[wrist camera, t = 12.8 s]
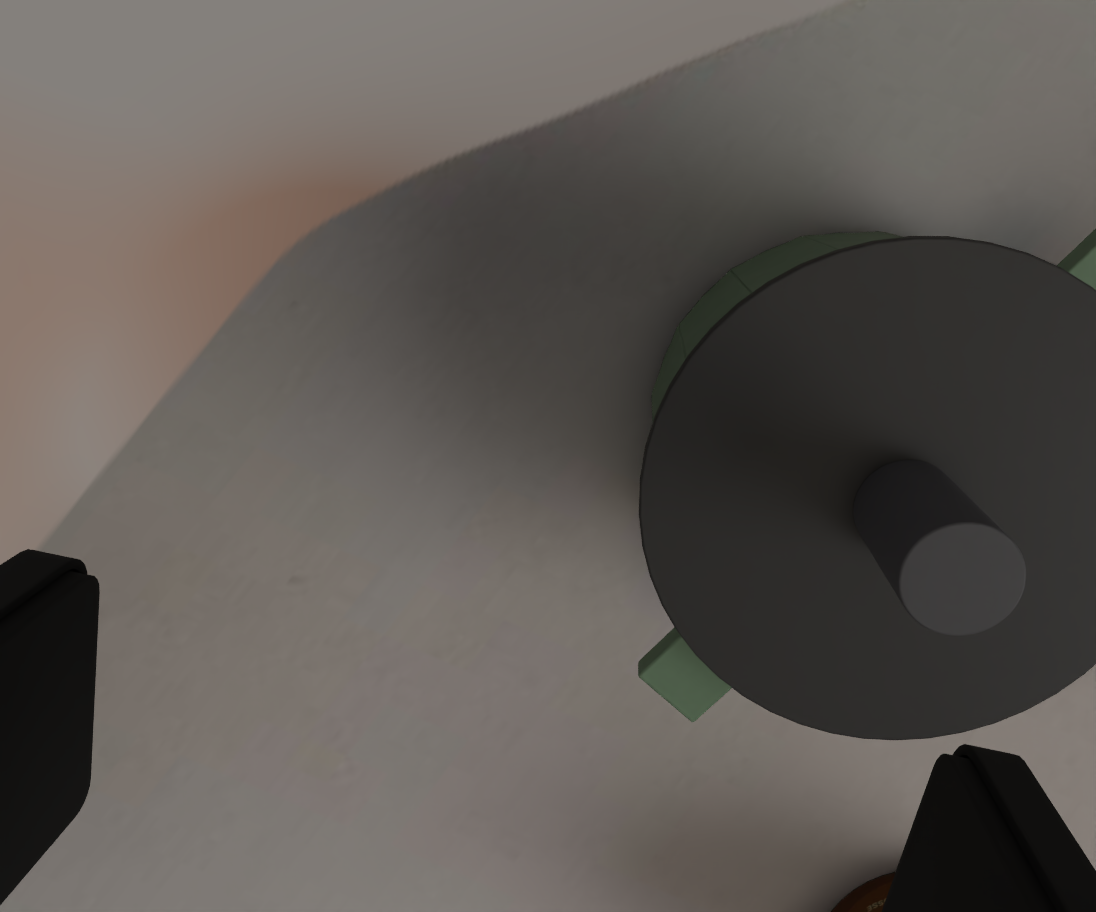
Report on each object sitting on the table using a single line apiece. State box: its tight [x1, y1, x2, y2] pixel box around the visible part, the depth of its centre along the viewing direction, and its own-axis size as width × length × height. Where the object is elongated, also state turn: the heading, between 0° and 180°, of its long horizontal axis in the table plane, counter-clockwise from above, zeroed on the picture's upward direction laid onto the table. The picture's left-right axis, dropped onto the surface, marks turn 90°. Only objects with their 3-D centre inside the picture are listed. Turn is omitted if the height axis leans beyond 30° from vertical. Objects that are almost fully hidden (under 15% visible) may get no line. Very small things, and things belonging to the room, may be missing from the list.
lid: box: [639, 236, 1096, 740], centre depth 25 cm, size 15×15×6 cm
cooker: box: [638, 229, 1096, 722], centre depth 32 cm, size 14×19×10 cm
